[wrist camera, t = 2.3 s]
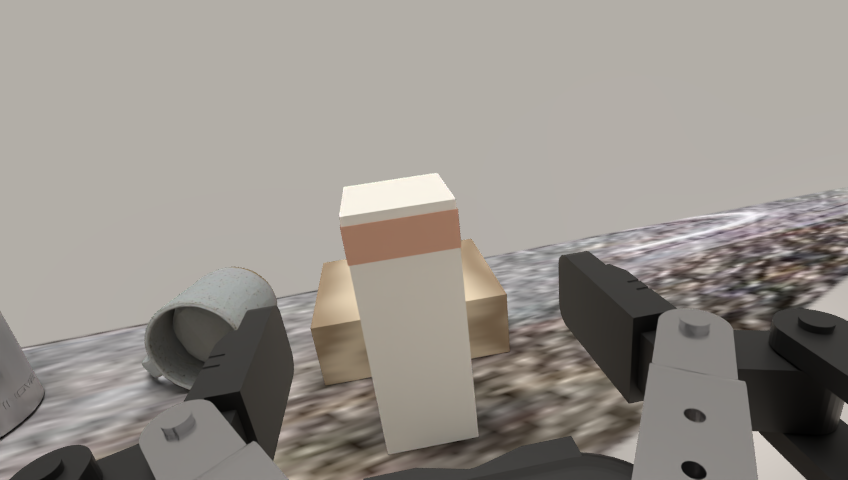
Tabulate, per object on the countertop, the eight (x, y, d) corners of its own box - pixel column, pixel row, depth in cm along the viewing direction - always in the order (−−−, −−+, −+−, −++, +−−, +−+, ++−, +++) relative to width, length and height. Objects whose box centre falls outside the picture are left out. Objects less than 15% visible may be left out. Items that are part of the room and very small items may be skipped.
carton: (387, 455, 26) (337, 217, 20) (383, 390, 31) (342, 186, 25) (479, 437, 26) (456, 199, 21) (460, 376, 32) (437, 172, 26)
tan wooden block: (325, 385, 32) (310, 328, 30) (334, 309, 42) (323, 263, 41) (509, 351, 33) (506, 294, 32) (475, 284, 44) (471, 238, 42)
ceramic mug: (291, 326, 41) (268, 251, 38) (260, 388, 33) (228, 299, 30) (181, 339, 41) (150, 266, 38) (126, 402, 34) (82, 317, 31)
